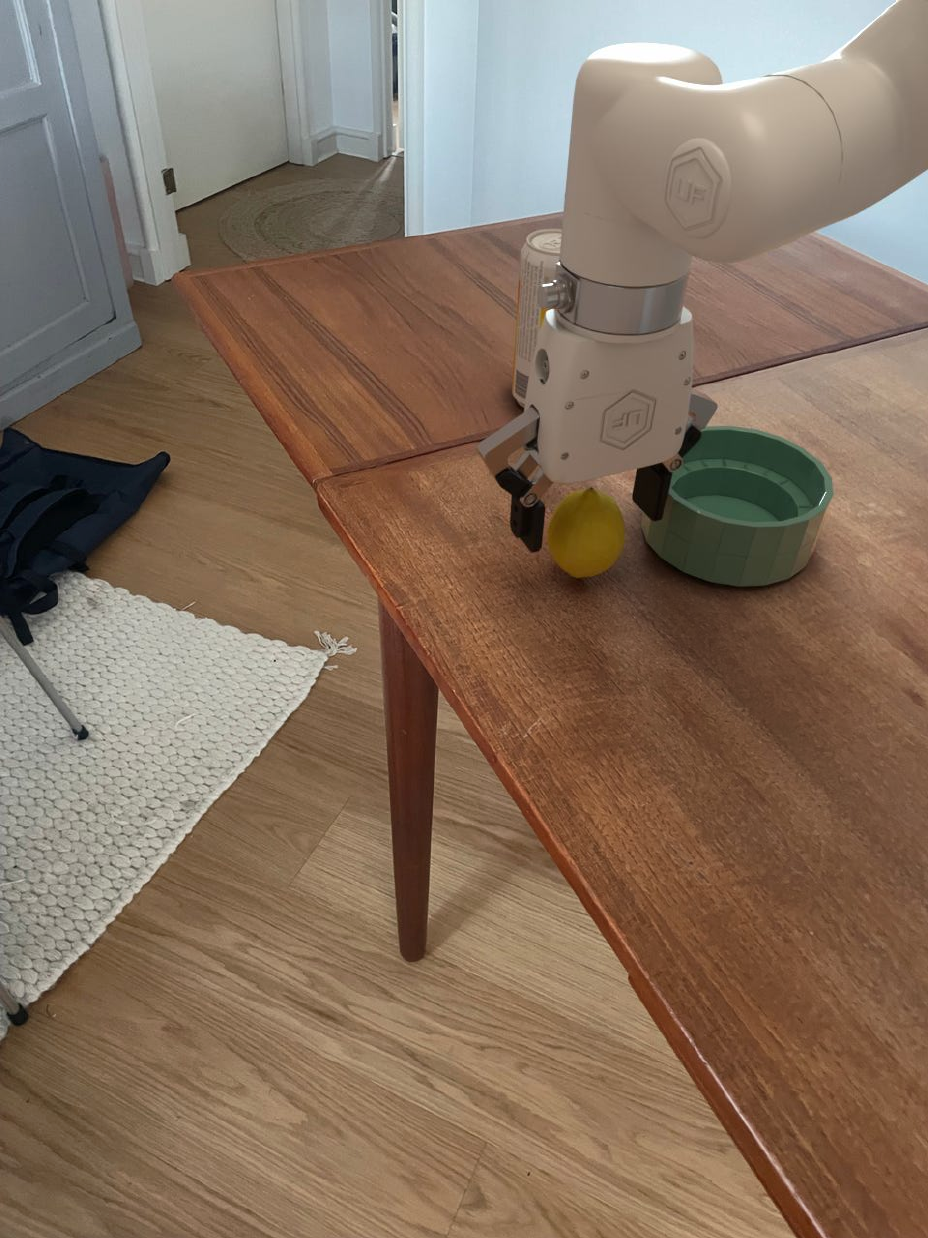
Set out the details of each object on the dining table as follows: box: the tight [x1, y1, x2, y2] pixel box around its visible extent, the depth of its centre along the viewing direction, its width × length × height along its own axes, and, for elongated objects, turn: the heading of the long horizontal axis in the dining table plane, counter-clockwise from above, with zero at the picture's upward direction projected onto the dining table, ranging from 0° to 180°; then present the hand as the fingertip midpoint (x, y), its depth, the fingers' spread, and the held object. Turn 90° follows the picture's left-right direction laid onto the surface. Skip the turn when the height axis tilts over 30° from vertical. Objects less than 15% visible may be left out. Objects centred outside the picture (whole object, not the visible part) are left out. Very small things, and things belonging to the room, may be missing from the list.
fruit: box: [546, 486, 626, 579], centre depth 67 cm, size 6×6×8 cm
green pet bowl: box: [640, 425, 835, 588], centre depth 72 cm, size 13×13×6 cm
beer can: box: [511, 228, 562, 409], centre depth 83 cm, size 6×6×15 cm
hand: (587, 525), depth 67 cm, fingers open, 9 cm apart
